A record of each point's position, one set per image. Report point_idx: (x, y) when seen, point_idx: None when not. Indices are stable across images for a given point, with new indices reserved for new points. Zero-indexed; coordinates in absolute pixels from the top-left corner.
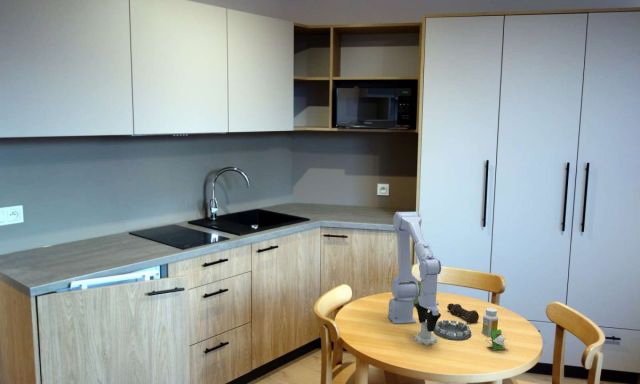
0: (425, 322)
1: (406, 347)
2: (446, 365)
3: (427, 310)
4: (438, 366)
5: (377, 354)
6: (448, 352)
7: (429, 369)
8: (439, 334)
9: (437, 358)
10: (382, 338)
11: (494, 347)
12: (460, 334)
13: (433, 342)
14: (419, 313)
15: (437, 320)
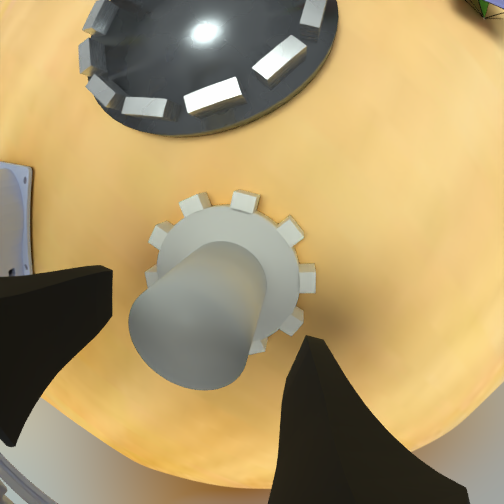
0: (140, 320)
1: (269, 411)
2: (491, 354)
3: (1, 307)
4: (472, 385)
5: (270, 480)
6: (444, 259)
7: (456, 417)
8: (210, 131)
9: (442, 357)
10: (153, 417)
11: (484, 8)
12: (322, 12)
13: (314, 277)
14: (48, 374)
15: (396, 443)
